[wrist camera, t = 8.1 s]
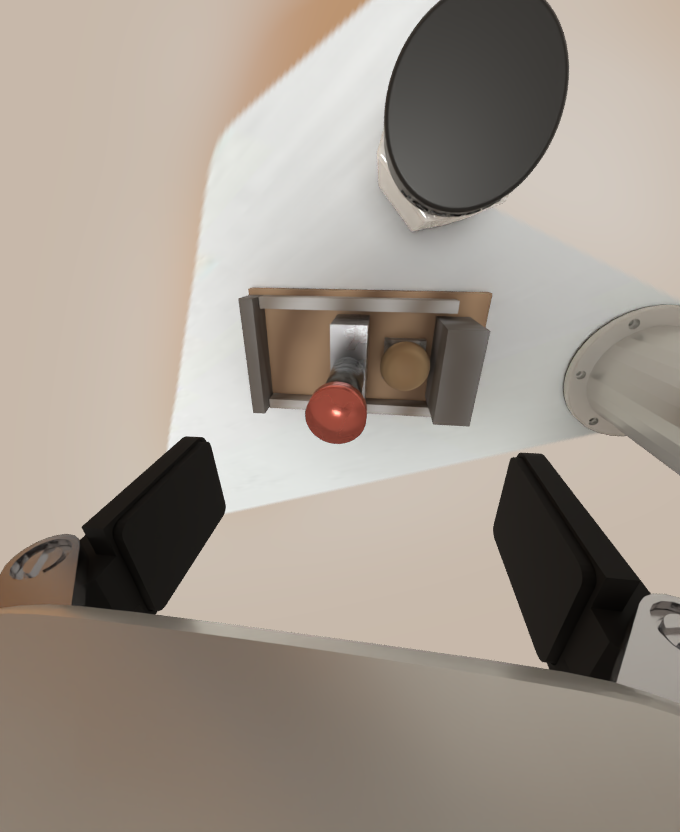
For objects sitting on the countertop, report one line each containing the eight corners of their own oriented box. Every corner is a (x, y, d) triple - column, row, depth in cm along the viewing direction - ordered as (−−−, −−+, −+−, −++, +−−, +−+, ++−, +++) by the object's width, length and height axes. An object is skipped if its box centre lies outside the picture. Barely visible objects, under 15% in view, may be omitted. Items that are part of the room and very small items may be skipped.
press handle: (374, 314, 29) (369, 355, 18) (370, 394, 33) (363, 472, 21) (333, 313, 30) (302, 352, 18) (333, 392, 33) (307, 468, 22)
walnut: (429, 337, 29) (437, 349, 25) (423, 381, 31) (429, 400, 27) (381, 335, 30) (381, 347, 26) (378, 379, 32) (378, 397, 28)
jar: (386, 241, 28) (389, 234, 17) (369, 123, 24) (360, 23, 14) (495, 213, 26) (573, 186, 15) (493, 82, 23) (593, -70, 12)
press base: (488, 292, 29) (518, 303, 22) (463, 411, 34) (482, 447, 28) (252, 287, 31) (219, 296, 25) (265, 400, 36) (240, 431, 30)
